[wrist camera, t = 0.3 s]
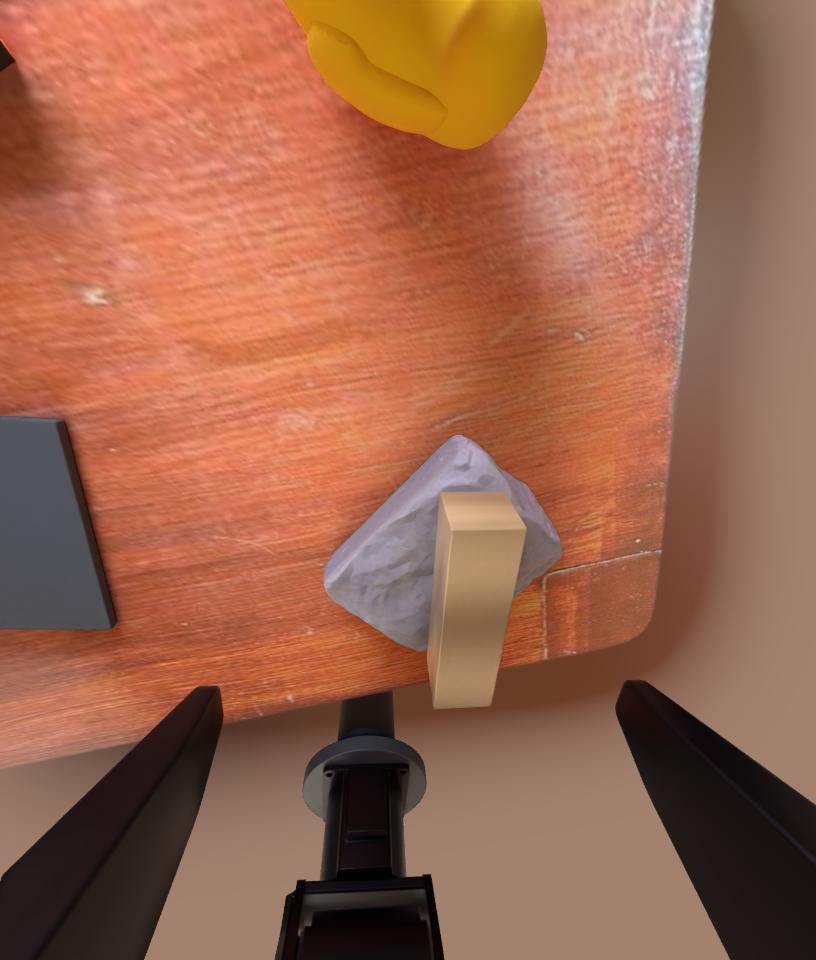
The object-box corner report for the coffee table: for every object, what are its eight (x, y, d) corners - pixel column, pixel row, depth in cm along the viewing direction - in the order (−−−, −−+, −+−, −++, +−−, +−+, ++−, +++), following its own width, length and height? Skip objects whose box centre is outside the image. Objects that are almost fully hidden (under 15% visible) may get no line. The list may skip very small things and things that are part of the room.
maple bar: (477, 656, 23) (491, 706, 20) (426, 659, 23) (433, 710, 20) (505, 490, 18) (528, 528, 15) (439, 491, 17) (451, 529, 15)
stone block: (550, 504, 26) (450, 412, 21) (594, 554, 22) (483, 455, 17) (423, 611, 29) (310, 554, 24) (440, 672, 25) (309, 619, 20)
